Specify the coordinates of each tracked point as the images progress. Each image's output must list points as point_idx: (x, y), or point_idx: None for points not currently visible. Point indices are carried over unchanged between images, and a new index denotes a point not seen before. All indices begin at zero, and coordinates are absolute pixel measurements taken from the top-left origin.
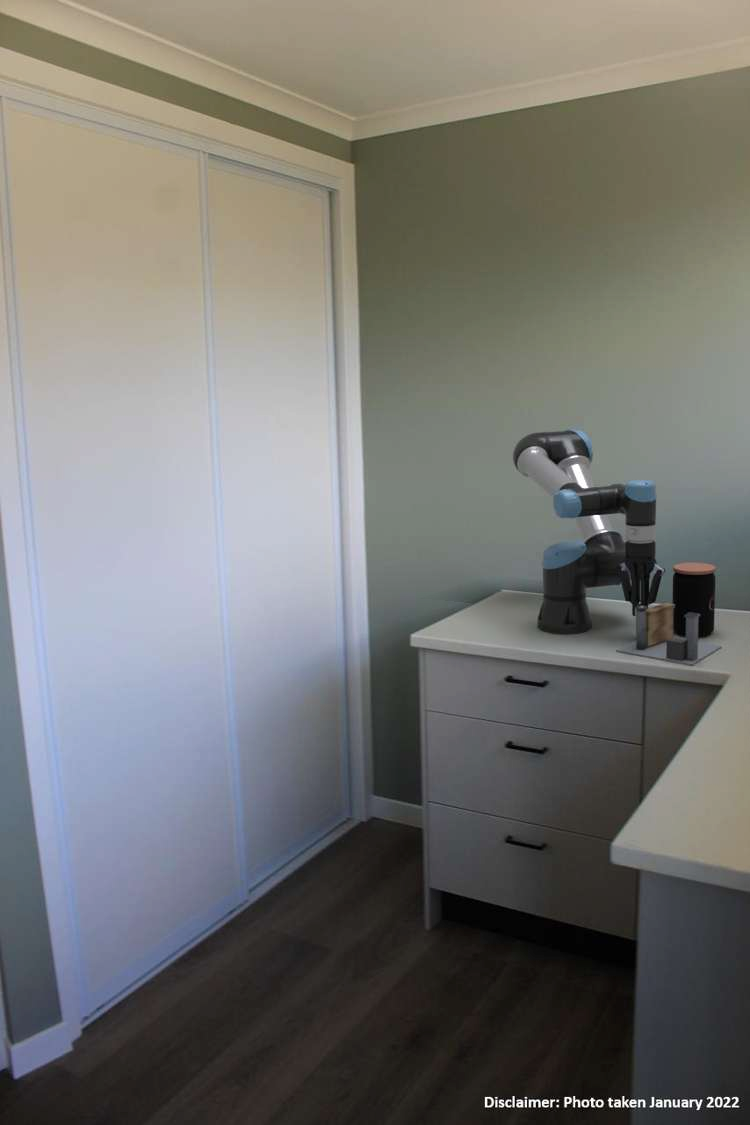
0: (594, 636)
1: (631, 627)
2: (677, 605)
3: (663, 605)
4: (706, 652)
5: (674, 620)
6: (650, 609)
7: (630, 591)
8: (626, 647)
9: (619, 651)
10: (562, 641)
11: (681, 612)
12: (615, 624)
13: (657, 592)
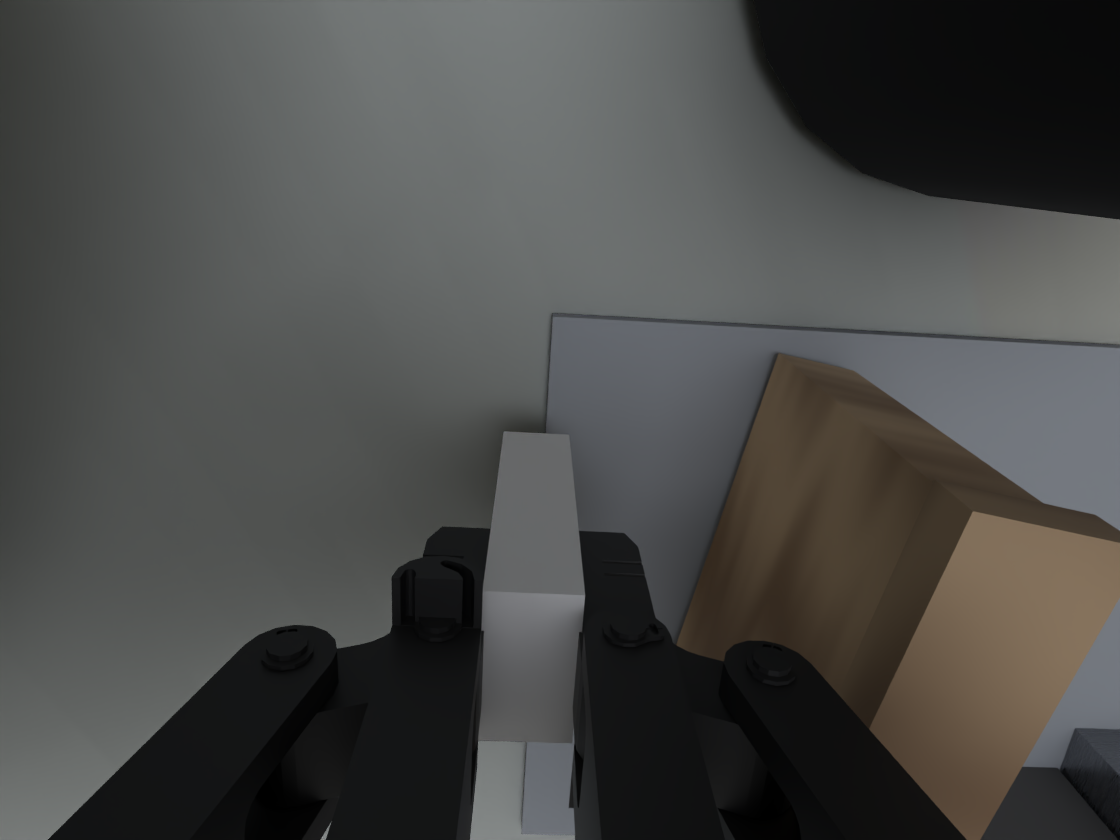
0: (141, 580)
1: (256, 96)
2: (1067, 177)
3: (962, 696)
4: None
5: (863, 132)
6: None
7: (234, 792)
8: (561, 751)
9: (550, 829)
10: (24, 805)
11: (1072, 210)
12: (23, 64)
13: (943, 825)
